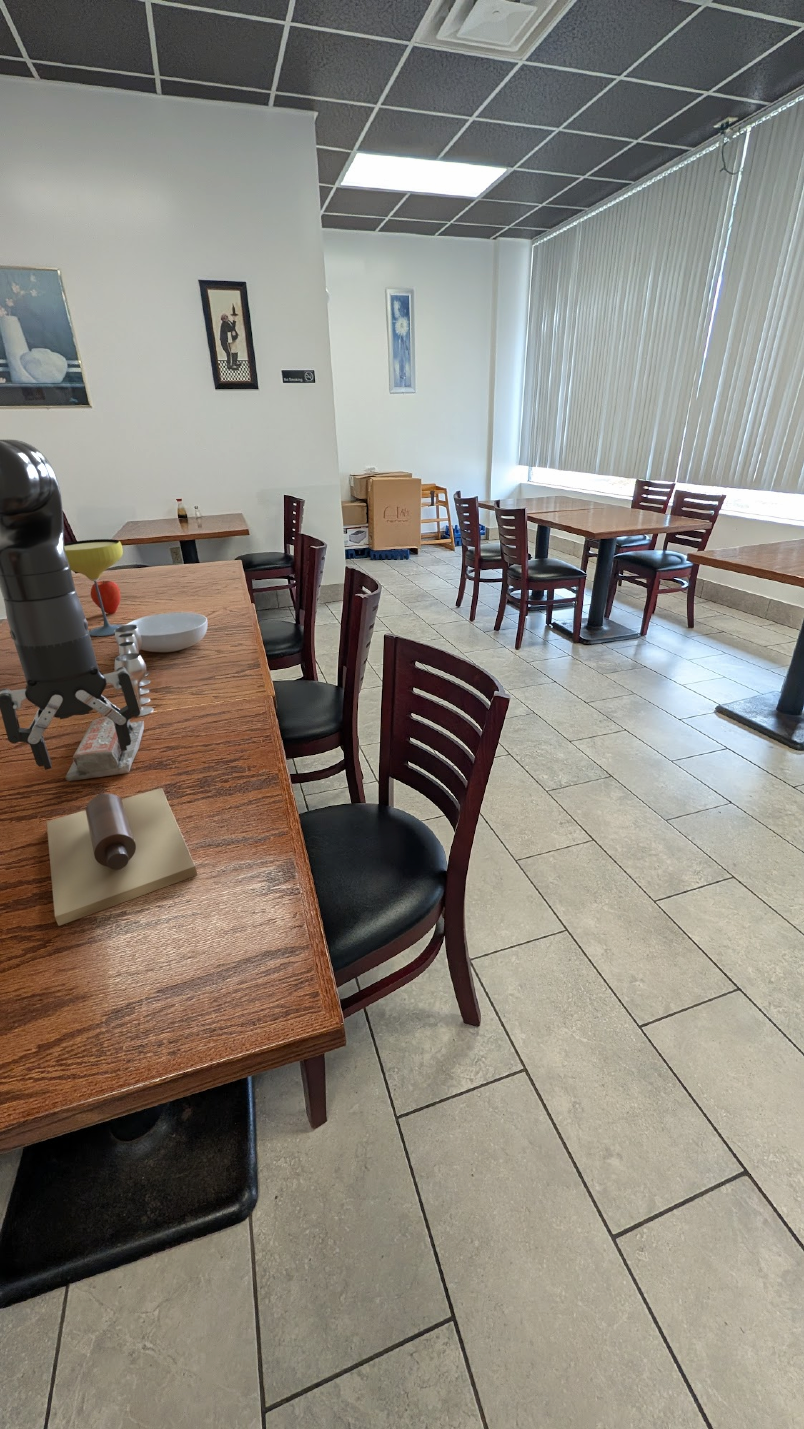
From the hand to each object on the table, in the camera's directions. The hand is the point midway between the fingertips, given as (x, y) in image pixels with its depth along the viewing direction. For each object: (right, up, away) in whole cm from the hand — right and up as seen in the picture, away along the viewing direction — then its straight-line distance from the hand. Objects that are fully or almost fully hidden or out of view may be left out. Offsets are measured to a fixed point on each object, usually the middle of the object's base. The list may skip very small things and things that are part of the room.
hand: (86, 757), depth 73 cm
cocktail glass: (-48, +30, +100) cm, 115 cm away
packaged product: (-13, -2, +32) cm, 35 cm away
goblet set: (-19, +10, +57) cm, 61 cm away
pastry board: (+1, -13, +7) cm, 15 cm away
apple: (-55, +38, +117) cm, 135 cm away
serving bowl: (-23, +23, +85) cm, 91 cm away
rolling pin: (+1, -12, +6) cm, 13 cm away
